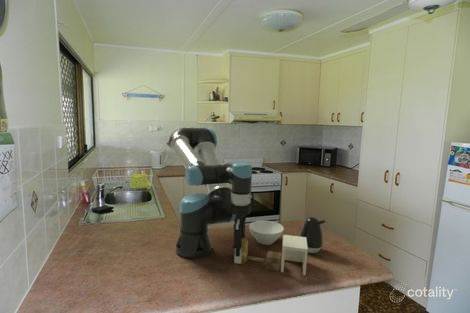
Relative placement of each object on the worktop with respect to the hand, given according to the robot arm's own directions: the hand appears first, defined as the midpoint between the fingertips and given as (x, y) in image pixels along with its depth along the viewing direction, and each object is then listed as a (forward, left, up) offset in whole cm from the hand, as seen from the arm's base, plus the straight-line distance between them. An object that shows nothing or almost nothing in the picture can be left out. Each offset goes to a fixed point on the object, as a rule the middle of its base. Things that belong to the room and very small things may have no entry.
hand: (238, 260), depth 112 cm
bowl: (+9, +21, -1) cm, 23 cm away
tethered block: (+8, -1, 0) cm, 8 cm away
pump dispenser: (+29, +17, -1) cm, 33 cm away
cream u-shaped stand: (+21, +1, 0) cm, 21 cm away
